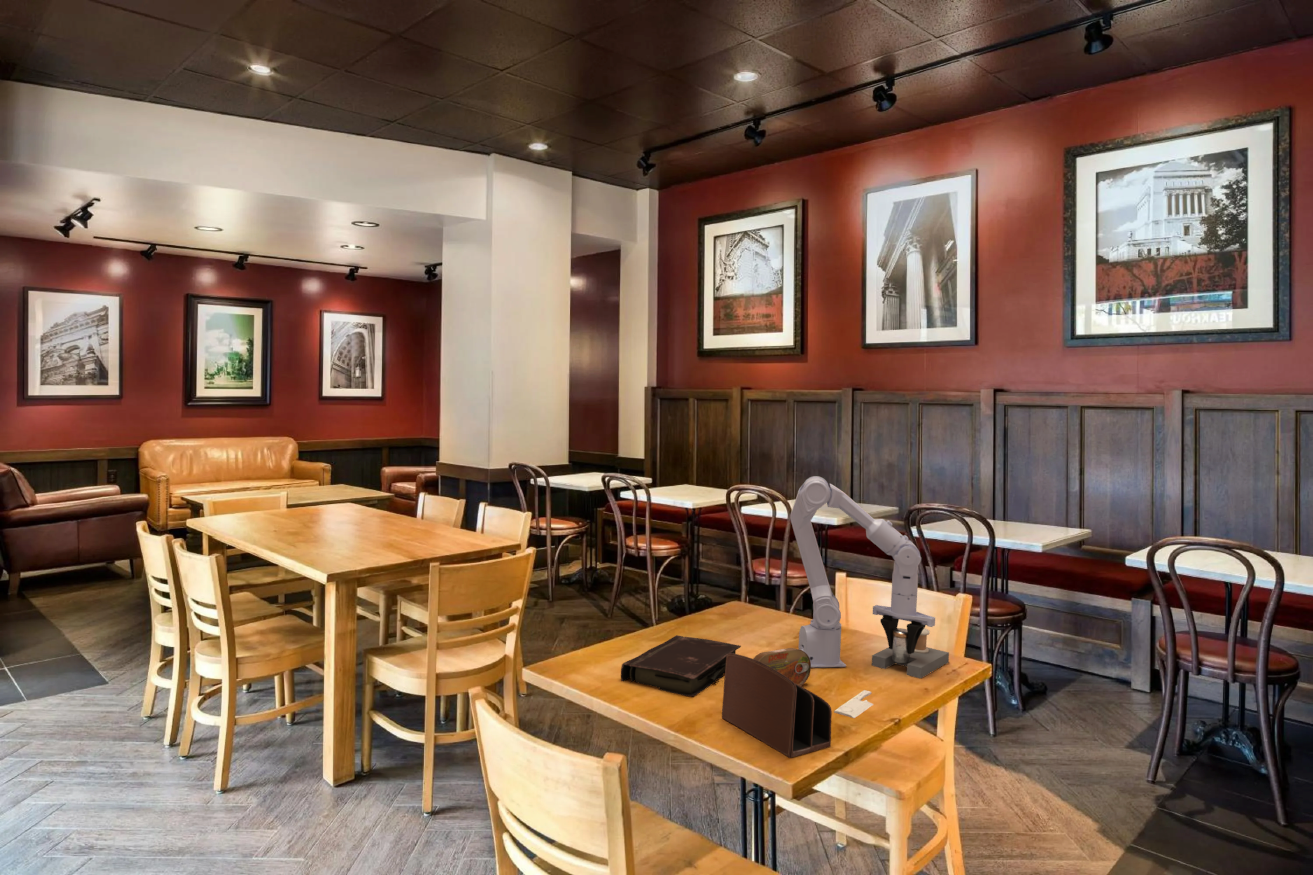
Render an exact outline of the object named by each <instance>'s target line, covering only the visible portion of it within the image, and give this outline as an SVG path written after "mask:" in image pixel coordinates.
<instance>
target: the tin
mask: <svg viewBox="0 0 1313 875" xmlns="http://www.w3.org/2000/svg"><path fill="white" fill-rule="evenodd" d="M752 659H755V660H757V661H759V662H761V663H763V664H765V665H767V666H769V667H771V668H773V669H775V670H776V671H778V672H780V673H781V674H783V675H784V676H786V677H787V678H789V679H790V680H792V681H793V682H794V683H796V684H798V685H800V686H802V687H803V685H804V684H805V683H806V682H807V681H808V679H809V677H810V675H811V670H812V667H811V662H810V659H809V657H808V655H807V654H806V653H805V652H804V651H802V650H799V648H795V647H787V648H782V649H776V650H775V649H774V650H769V651H763V652H760V653H758V654H756V655H755V656H754V657H753V658H752Z"/></svg>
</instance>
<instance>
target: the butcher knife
mask: <svg viewBox="0 0 1313 875" xmlns="http://www.w3.org/2000/svg"><path fill="white" fill-rule="evenodd" d="M870 695H872V691H869V690H865V689H863V690H862V691H861V692H859V693H858V694H857V695H855V696H854V697H851V699H849V700H848V701H846V702H845V703H843V704H841V705H840V706H839V707H838V708H837V709H835V710H833V712H834V713H835V714H838V715H841V716H845V717H849V718H852V719H855V718H856V717H858V716H860V715H861V714H862V713H864V712H865V711H867V710H868V709H869V708H870V707H872V706H874V705H875V704H874V703H872V702H870V701H868V700H867V699H865V700H863V699H864V698H866V697H868V696H870Z"/></svg>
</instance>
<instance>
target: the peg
mask: <svg viewBox="0 0 1313 875" xmlns="http://www.w3.org/2000/svg"><path fill="white" fill-rule="evenodd" d="M892 660H893V661H895V662H899V663H908V662H910V654H908V632H907V628H903V627H902V628H899V627H897V628H896V629H893V646H892Z"/></svg>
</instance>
